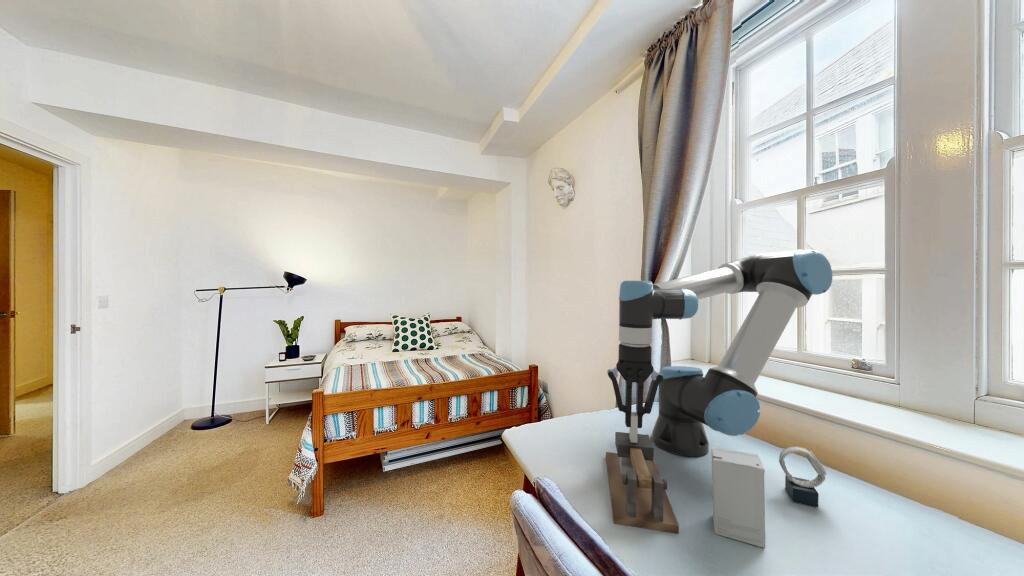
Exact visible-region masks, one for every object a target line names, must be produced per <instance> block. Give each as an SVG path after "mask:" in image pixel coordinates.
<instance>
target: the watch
mask: <svg viewBox="0 0 1024 576" xmlns="http://www.w3.org/2000/svg"><path fill="white" fill-rule="evenodd" d="M793 453H801V454H802V453H803V454H804V455H805V457H806V459H807V461H809V463H810V465H811V467H812V468H813V470H814V471H815V472H816V474H817V476H816V477H815V478H813V479H811V480H810V479H805V478H802V477H795V476H793V474H791V473H790V472H789V471H788V468H787V466H786V461H785V458H786V456H788V455H789V454H790V455H791V454H793ZM778 459H779V460H778V462H779V465H780V467H781V469H782V471H783V473H784V474H785V477H784V478H785V479H784V482H785V484H784V485H785V486H784V489H785V490H786V492H787V494H788V496H789V498H790V499H791V502H792V503H794V504H800V505H804V506H807V507H808V506H809V507H812V508H816V507H818V508H819V492H818V491H817V489H816V488H817V487H819V486H821V485H822V484H823V483H824V482H825V480H826V476H827V474H828V473H827V472H826V470H825V468H824V467H823V465H822V463H821V462H820V461H819V459H818V458H817V456H816V455H815V454H814V452H813V451H812V450H808V449H807V448H804V447H802V446H788V447H786V448H784V449H782V451H781V452H780V454H779V457H778Z"/></svg>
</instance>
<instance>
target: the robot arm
mask: <svg viewBox="0 0 1024 576" xmlns="http://www.w3.org/2000/svg"><path fill="white" fill-rule="evenodd" d="M832 282H833V270H832V266H831V264H830V260H829V259H828V258H827V257H826V256H825V255H824V254H823V252H820V251H818V250H815V249H796V250H794V251H780V252H779V251H778V252H769V253H767V252H766V253H758V254H754V255H753V254H752V255H750V256H749V255H748V256H747V257H743V258H739V259H737V260H733V261H730V262H726V263H722V264H720V266H718V268H716V269H712V270H707V271H704V272H699V273H695V274H691V275H687V276H683V277H679V278H676V279H669V280H667V281H662V282H658V283H653V282H652V281H651V280H623V281H621V283H620V287H619V293H618V294H619V297H618V301H619V305H618V306H619V308H618V309H619V311H618V312H619V313H618V320H619V321H618V325H619V326H618V342H619V344H618V359H617V363H616V366H615V367H613V368H612V369H610V368H609V369H607V371H606V373H607V376H608V378H609V379H610V381H611V383H612V387H613V392H614V396H615V400H616V404H617V405H616V406H617V409H618V411H620V412H623V413H624V416H625V417H624V418H625V419H624V424H625V427H626V428H629V432H628V433H629V438H630V441H631V442H632V443H637V434H639V433H638V429H642V428H643V417H644V415H646V414H648V415H649V414H652V413H651V412H652V410H653V405H654V402H655V400H656V396H657V391H658V415H657V419H656V421H655V423H654V426H653V429H652V432H651V435H652V436H651V439H652V440H651V441H652V442H653V444H655V446H656V447H658V448H660V449H661V450H664V451H666V452H668V453H671V454H674V455H680V456H684V457H702V456H705V455H707V454H708V453H709V449H710V446H709V445H710V444H709V443H710V442H709V439H708V436H707V433H706V430H705V427H704V425H705V426H707V427H709V428H710V429H711V430H713V431H715V432H719V433H721V434H723V435H726V436H730V437H737V436H740V435H744V434H747V433H748V432H750V431H751V430H752V429H753V428H755V426H756V425H757V423H758V421H759V420H760V419H759V418H760V415H761V412H760V411H759V410H760V409H761V405H760V402H759V400H758V399H757V396H758V394H759V393H758V390H757V388H756V385H755V383H756V382H757V380H758V378H759V377H760V374H761V373H762V372H763V371H762V370H763V369H764V368H765V365H767V364H766V363H767V362H768V361H769V358H770V356H771V355H772V353H773V351H774V350H775V347H776V346H777V344H778V342H779V340H780V338H781V337H782V334H783V333H784V331H785V330H786V328H787V325H788V323H789V322H790V320H791V318H792V317H793V315H794V313H795V311H796V309H797V308H802V307H805V306H807V304H808V302H809V301H810V299H811V297H812V295H815V296H816V295H821V294H824V293H826V292H828V291H829V289H830V288H831V285H832ZM724 293H726V294H728V295H729V294H730V295H732V294H733V295H734V294H735V295H736V294H738V293H758V296H757V298H756V299H755V301H754V303H753V305H752V306H751V308H750V310H749V312H748V313H747V315H746V317H745V318H744V320H743V323H742V324H741V326H740V327H739V329H738V331H737V333H736V335H735V336H734V338H733V339H732V342H731V343H730V345H729V347H728V348H727V351H726V353H724V356H723V357H722V359H721V361H720V362H719V364H718V366H714V367H710V368H709V369H708V371H707V372H706V373H705V375H704V372H703V369H702V368H700V367H696V366H695V367H694V366H687V365H686V366H685V365H683V366H682V365H681V366H680V365H675V366H674V365H673V366H670V365H669V366H664V367H662V368H661V369H660V370H659V372H658V371H656V370H655V369H654V366H653V363H652V353H653V352H652V350H653V348H652V346H651V344H652V341H653V339H652V337H653V333H652V332H653V320H685V319H691V318H693V317H694V316H695V315H696V314H697V312H698V309H699V300H702V299H707V298H710V297H713V296H718V295H721V294H724ZM619 374H620V376H621V377H622V378H623V380H624V382H625V383H624V384H625V391H624V392H625V393H624V394H625V397H624V399H625V400H624V402H625V403H624V404H623V400H622V395H621V392H620V387H619V384H618V380H617V379H618V377H619ZM649 377H650V378H651V381H650V384H649V387H648V392H647V395H646V397H645V401H644V385H645V382H646V381H647V380H648V378H649ZM634 383H635V384H636V385H635V386H636V390H635V395H636V396H635V401H636V402H635V411H632V410H633V409H632V408H633V407H632V406H633V405H632V403H633V402H632V400H633V398H632V397H633V384H634Z"/></svg>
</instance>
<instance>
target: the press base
mask: <svg viewBox="0 0 1024 576" xmlns="http://www.w3.org/2000/svg"><path fill="white" fill-rule="evenodd" d="M605 461H606V469H607V478H608V479H607V480H608V487H609V495H610V496H609V497H610V503H611V512H612V521H613V524H615V525H622V526H629V527H635V528H640V529H641V528H642V529H647V530H655V531H660V532H667V533H674V534H679V533H680V530H679V528H680V525H679V523H678V520H677V517H676V514H675V513H674V509H673V507H672V504H671V501H670V499H669V496H668V494H667V492H666V491H668V482H667V479H664V478H662V475H661V474H659V470H658V468H657V465H656V464H655V460H654V461H650V460H645V462H646V465H647V468H648V471H649V474H650V476H651V480H652V489H651V491H650V490H643V489H639V488H638V485H637V481H636V476H635V473H634V469H633V465H632V461H631V458H624V457H618V455H617V452H610V451H609V452H608V451H606V452H605Z"/></svg>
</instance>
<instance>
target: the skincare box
mask: <svg viewBox="0 0 1024 576" xmlns="http://www.w3.org/2000/svg"><path fill="white" fill-rule="evenodd" d="M711 487H712V489H711V490H712V493H711V494H712V517H713V518H712V520H713V531H714V534H715V535H718V536H722V537H725V538H728V539H733V540H736V541H740V542H743V543H746V544H750V545H753V546H756V547H760V548H763V549H765V548H766V512H765V511H766V507H765V506H766V505H765V503H766V502H765V500H766V499H765V495H766V494H765V468H764V466H763V462H762V460H761V458H760V456H759V454H757V453H756V454H755V453H750V452H743V451H738V450H733V449H726V448H721V447H716V446H711Z"/></svg>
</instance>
